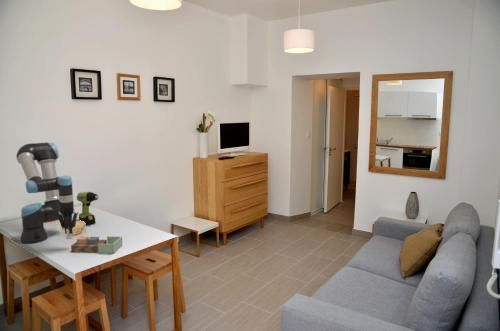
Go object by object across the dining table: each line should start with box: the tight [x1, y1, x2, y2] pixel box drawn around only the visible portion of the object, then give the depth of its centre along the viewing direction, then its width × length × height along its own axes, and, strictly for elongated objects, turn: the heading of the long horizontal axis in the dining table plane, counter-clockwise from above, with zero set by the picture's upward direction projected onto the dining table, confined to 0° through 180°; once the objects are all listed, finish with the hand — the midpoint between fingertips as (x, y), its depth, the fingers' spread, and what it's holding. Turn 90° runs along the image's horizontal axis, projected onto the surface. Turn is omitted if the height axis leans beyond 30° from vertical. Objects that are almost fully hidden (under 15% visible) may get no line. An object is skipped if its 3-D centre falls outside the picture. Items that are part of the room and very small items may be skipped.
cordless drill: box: [76, 191, 99, 227], centre depth 264 cm, size 23×7×25 cm, turn 57°
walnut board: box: [70, 239, 108, 254], centre depth 221 cm, size 17×11×4 cm, turn 87°
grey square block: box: [87, 236, 100, 244], centre depth 220 cm, size 5×5×3 cm
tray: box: [98, 235, 123, 255], centre depth 220 cm, size 9×13×6 cm
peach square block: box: [76, 235, 90, 244], centre depth 220 cm, size 5×5×3 cm
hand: (69, 238), depth 220 cm, fingers closed
